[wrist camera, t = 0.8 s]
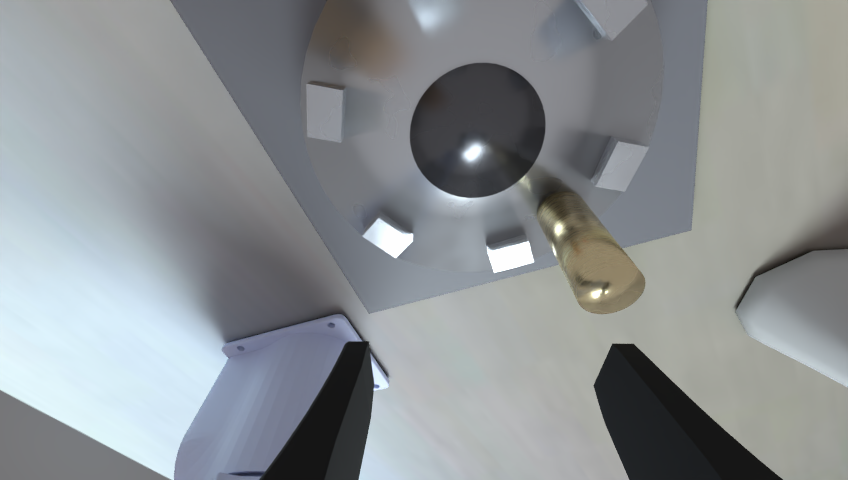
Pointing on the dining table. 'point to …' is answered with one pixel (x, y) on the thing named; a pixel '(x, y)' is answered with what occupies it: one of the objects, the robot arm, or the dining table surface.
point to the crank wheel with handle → (486, 130)
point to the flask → (803, 311)
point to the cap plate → (356, 256)
